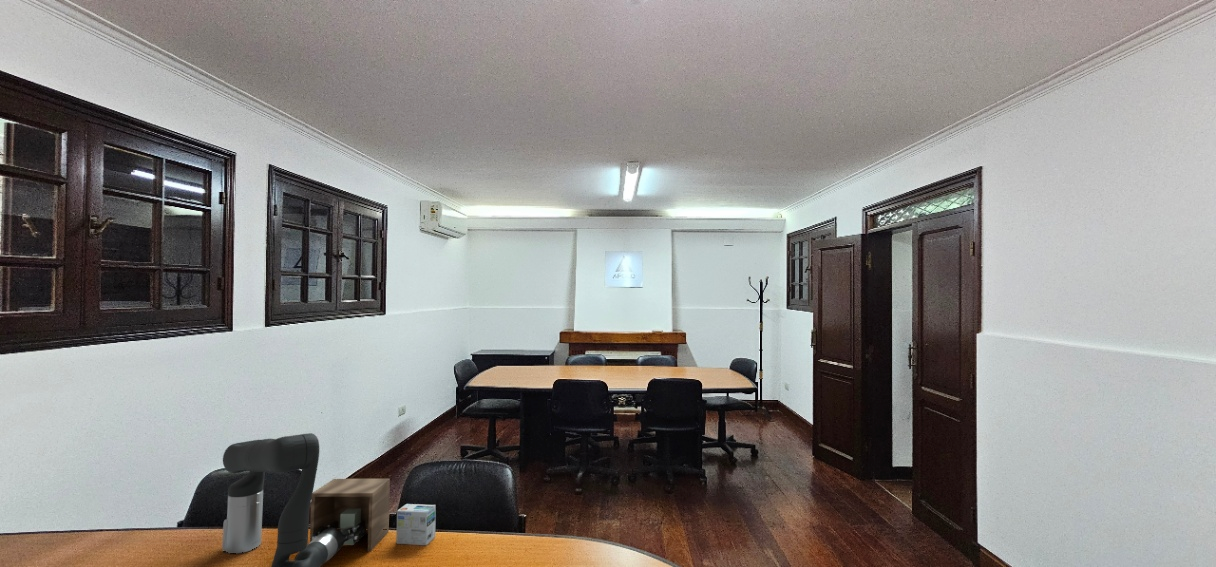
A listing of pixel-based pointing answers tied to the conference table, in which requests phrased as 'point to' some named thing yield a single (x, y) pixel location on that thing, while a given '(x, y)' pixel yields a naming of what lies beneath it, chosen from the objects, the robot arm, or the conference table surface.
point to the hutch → (353, 505)
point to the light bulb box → (416, 524)
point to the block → (350, 521)
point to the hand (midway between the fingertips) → (350, 523)
